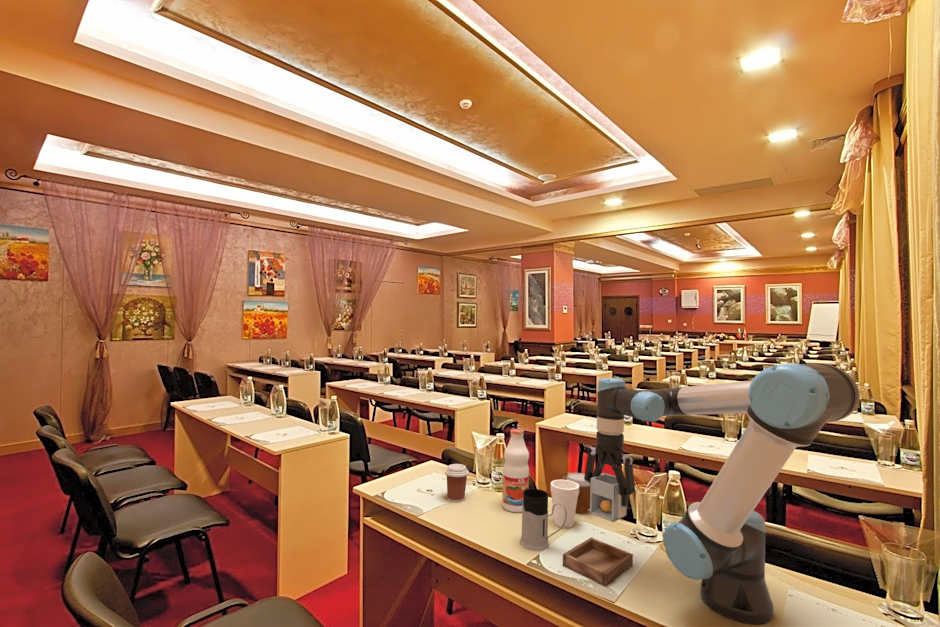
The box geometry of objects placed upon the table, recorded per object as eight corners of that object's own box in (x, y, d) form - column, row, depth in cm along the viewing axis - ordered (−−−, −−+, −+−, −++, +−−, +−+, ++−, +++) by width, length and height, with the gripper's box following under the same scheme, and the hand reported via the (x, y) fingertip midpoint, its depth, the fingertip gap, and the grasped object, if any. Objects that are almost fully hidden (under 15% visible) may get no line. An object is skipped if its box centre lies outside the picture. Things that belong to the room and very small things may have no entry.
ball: (615, 509, 126) (611, 498, 126) (608, 513, 124) (604, 502, 125) (607, 509, 128) (603, 498, 129) (600, 513, 127) (596, 502, 127)
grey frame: (603, 506, 131) (604, 473, 132) (626, 515, 126) (627, 480, 126) (589, 513, 126) (590, 478, 127) (613, 522, 121) (614, 485, 121)
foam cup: (576, 518, 152) (577, 480, 152) (580, 530, 142) (581, 490, 143) (548, 516, 153) (549, 478, 153) (550, 528, 143) (551, 488, 144)
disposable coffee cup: (560, 506, 162) (561, 473, 162) (582, 503, 165) (583, 471, 165) (575, 517, 153) (576, 482, 153) (598, 514, 156) (599, 480, 156)
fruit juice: (522, 501, 165) (524, 426, 166) (531, 512, 156) (534, 432, 157) (498, 503, 163) (501, 427, 164) (506, 513, 154) (509, 433, 154)
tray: (632, 565, 122) (632, 554, 123) (605, 586, 112) (606, 574, 112) (590, 547, 132) (591, 537, 132) (562, 565, 121) (562, 554, 121)
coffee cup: (443, 503, 161) (444, 470, 162) (444, 493, 170) (445, 462, 171) (468, 503, 161) (469, 470, 162) (467, 494, 170) (468, 463, 171)
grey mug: (526, 533, 139) (528, 486, 140) (570, 546, 132) (571, 496, 132) (515, 545, 132) (516, 494, 132) (560, 559, 124) (561, 505, 125)
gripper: (650, 437, 122) (648, 520, 121) (586, 423, 137) (584, 497, 136) (637, 441, 117) (635, 528, 116) (572, 426, 132) (570, 503, 131)
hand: (608, 511), depth 126 cm, fingers closed on grey frame, 7 cm apart
